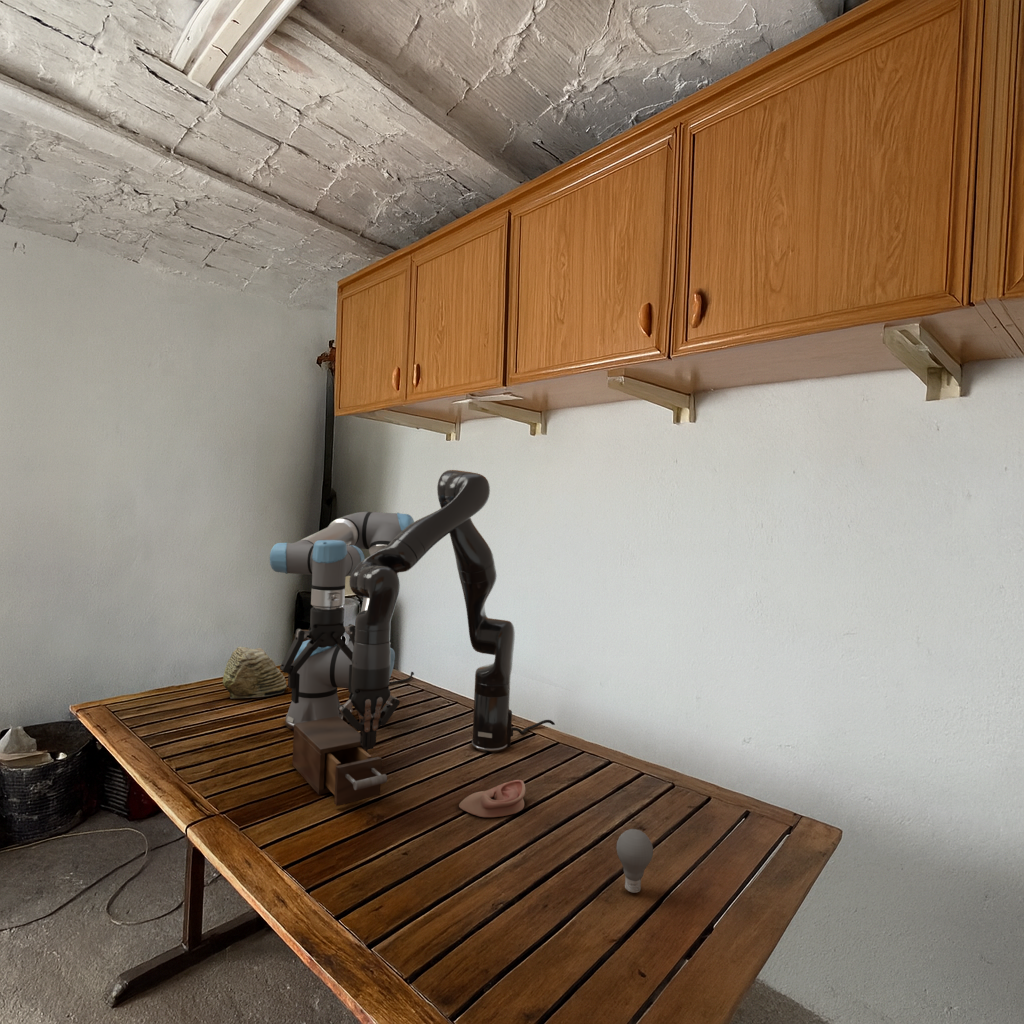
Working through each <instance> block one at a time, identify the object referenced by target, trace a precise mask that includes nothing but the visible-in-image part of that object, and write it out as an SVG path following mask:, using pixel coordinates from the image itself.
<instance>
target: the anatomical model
mask: <svg viewBox="0 0 1024 1024" xmlns="http://www.w3.org/2000/svg"><path fill="white" fill-rule="evenodd" d="M526 789H527V788H526V785H525V782H524V781H523V780H521V779H513V780H510V781H506V782H504V783H500V784H498V785H496V786H494V787H492V788H489V789H486V790H483V791H482V790H481V791H477V792H474V793H472V794H470V795H468V796H466V797H465V798H463V799H462V800H461V801H460V802H459V804H458V807H459V809H460V810H462V811H464V812H466V813H468V814H470V815H474V816H476V817H480V818H498V817H504V816H510V815H511V816H512V815H514V814H517V813H519V812H520V811H522V810H524V808H525V800H524V797H525V796H526Z"/></svg>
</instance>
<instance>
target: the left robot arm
mask: <svg viewBox="0 0 1024 1024" xmlns="http://www.w3.org/2000/svg"><path fill="white" fill-rule="evenodd" d="M413 522H415V520H414V518H413V517H412V515H410V514H409V513H400V512H376V511H360V512H359V511H358V512H354V513H349V514H346V515H343V516H341V517H338V518H336V519H334V520H333V521H331V522H330V523H329V525H328V526H327V527H325V528H323V529H321V530H319V531H317V532H315V533H312V534H309V535H308V536H306V537H304V538H302V539H300V540H298V541H295V542H277V543H275V544H274V545H273V546H272V548H271V550H270V554H269V565H270V568H271V569H272V570H273V571H274V572H276V573H282V574H286V575H288V574H292V575H294V574H296V575H311V593H310V594H311V595H310V605H311V606H312V607H311V608H310V617H309V618H310V622H309V623H310V625H309V628H308V629H301V628H297V629H296V630H295V635H294V639H293V641H292V643H291V645H290V646H289V649H288V651H287V652H286V655H285V656H284V658H283V660H282V662H281V664H280V666H279V670H280V672H282V673H285V674H287V687H288V688H289V689H291V698H290V699H291V702H290V704H289V708H288V711H287V713H286V715H285V726H286V728H287V729H289V730H291V731H294V724H296V723H301V722H307V721H313V720H318V719H324V718H330V717H336V716H339V717H340V718H341V719H342V720H344V716H343V715H342V714H341V712H340V711H339V710H338V707H339V705H344V704H345V703H342V704H341V702H340V699H339V695H338V689H348V693H349V694H350V693H351V690H352V688H351V681H352V655H353V647H354V641H355V640H354V637H355V624H352V623H349V624H348V625H345V626H344V622H345V608H344V605H345V604H346V603H345V598H346V578H347V577H350V576H351V574H352V572H353V570H354V569H355V567H356V566H357V565H358V564H359V563H360V562H362V561H363V560H364V559H366V558H365V554H364V552H363V551H362V550H368V553H369V556H371V555H372V554H374V553H375V552H377V551H379V550H380V549H382V548H384V547H386V546H387V545H388V544H389V543H390V542H391V541H392V540H393V539H394V538H395V537H396V536H397V535H398V534H399V533H400V532H402V531H403V530H404V529H405V528H406V527H407V526H409V525H410V524H412V523H413ZM399 574H400V572H399V573H397V575H398V576H399ZM368 605H369V599H368V598H363V600H362V603H361V610H360V612H362V611H365V610H367V608H368ZM345 633H346V635H348V637H349V638H348V642H347V644H346V642H345V641H344V640H343V639H342V637H343V636H344V635H345ZM308 636H309V638H310V639H307V637H308ZM306 639H307V640H306ZM391 644H392V643H391V642H390V650H391V656H390V678H391V677H392V674H393V671H394V666H395V659H396V653H395V650H394V648H392V647H391ZM414 675H415V673H414V671H410V675H409V677H406V678H404V679H399V680H393V681H389V685H394V684H399V683H404V682H408V681H410V680H411V679H412V677H413V676H414Z"/></svg>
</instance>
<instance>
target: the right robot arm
mask: <svg viewBox="0 0 1024 1024" xmlns="http://www.w3.org/2000/svg"><path fill="white" fill-rule="evenodd" d="M436 488H437V489H436V490H437V491H436V492H437V498H438V503H439V505H440V508H439V509H438V510H436V511H434V512H432V513H430V514H428V515H425V516H423V517H421V518H419V519H417V520H416V521H415V520H414V522H413V523H412V524H410V525H409V526H407V527H406V528H405V529H404V530H403V531H402V532H400V533H399V534H398V535H397V536H396V537H395V538H394V539H393V540H392V541H391V542H390V543H389V544H388V545H387V546H386V547H384V548H382V549H380V550H379V551H377V552H375V553H374V554H372V555H369V556H367V557H366V558H365V559H364V560H363V561H362V562H360V563H359V564H358V565H357V566H356V567H355V569H354V570H353V572H352V574H351V576H349V588H350V590H351V592H352V593H353V594H354V595H356V596H358V597H360V598H363V599H364V598H368V599H369V605H368V608H367V610H365V611H362V612H361V611H360V612H358V613H357V614H356V616H355V621H354V626H355V637H354V640H355V641H354V647H353V655H352V681H351V688H352V690H351V693H350V692H349V696H348V700H347V701H346V702H345V703H343V704H344V705H341V704H340V705H339V707H338V710H339V711H340V712H341V714H342V715H343V718H345V720H346V721H347V723H349V725H350V726H351V727H352V728H354V729H355V730H356V731H357V732H359V733H360V744H361V746H362V747H363V748H364V749H365V750H367V751H369V750H373V749H374V746H376V743H377V730H378V729H379V728H380V727H385V726H386V725H387V723H388V721H389V720H390V719H391V717H392V716H393V714H394V713H395V711H396V710H397V708H398V707H399V705H400V703H401V701H400V699H398V698H397V697H395V696H393V695H392V694H391V693H392V691H391V690H390V684H389V682H391V681H390V680H391V677H390V656H391V650H390V647H391V645H390V643H391V621H392V619H393V615H394V612H395V608H396V604H397V601H398V598H399V594H400V589H401V583H400V582H401V581H400V577H399V575H397V573H399V574H400V573H406V572H409V571H410V570H411V569H412V568H414V567H415V566H416V565H417V564H418V563H419V562H420V561H421V560H422V559H423V557H424V556H425V555H426V554H427V553H428V552H429V551H430V550H431V549H432V548H433V547H434V546H435V545H437V543H438V542H440V541H441V540H442V539H443V538H444V537H446V536H447V535H449V536H450V537H449V538H450V540H451V544H452V545H451V546H452V549H453V552H454V553H453V554H454V557H455V562H456V568H457V573H458V577H459V581H460V584H461V589H462V593H463V594H462V595H463V598H464V603H465V609H466V618H467V624H468V625H467V627H468V635H469V636H468V637H469V640H470V645H471V647H472V649H473V650H474V651H475V652H476V653H478V654H484V655H489V656H490V655H491V656H494V661H493V663H490V664H486V665H481V666H479V667H477V668H476V669H475V674H474V693H473V694H474V695H473V717H472V718H473V720H472V737H471V747H472V748H473V749H474V750H476V751H478V752H482V753H501V752H503V751H505V750H507V749H509V748H511V745H512V737H514V732H517V733H519V734H520V735H525V734H526V733H527V732H528V731H531V730H533V729H536V728H538V727H540V726H541V725H544V724H550V725H552V726H555V725H556V723H555V722H554V721H553V720H552V719H543V720H540V721H539V722H537V723H535V724H533V725H532V724H531V725H530V726H527V727H525V728H523V729H521V728H519V727H515V726H513V725H512V723H513V711H512V709H510V701H511V699H510V697H511V696H510V695H511V678H512V677H511V676H512V669H513V664H514V650H515V640H516V630H515V627H514V624H513V622H512V621H510V620H506V619H498V618H492V617H491V618H490V617H488V616H487V614H486V602H487V600H488V598H489V596H490V594H491V593H492V591H493V589H494V586H495V584H496V581H497V576H498V575H497V569H496V563H495V557H494V553H493V551H492V549H491V547H490V546H489V544H488V542H487V541H486V539H485V538H484V537H483V536H482V534H481V533H480V532H479V530H478V528H477V527H476V525H475V523H474V522H473V520H472V517H473V516H475V515H476V514H477V513H479V512H480V511H481V510H482V509H483V508H484V507H485V506H486V504H487V503H488V501H489V498H490V495H491V486H490V483H489V480H488V478H487V477H485V476H484V475H483V474H480V473H478V472H472V471H467V470H466V471H465V470H458V469H447V470H445V471H444V472H442V473H441V475H440V476H439V478H438V482H437V487H436ZM353 707H354V709H355V710H356V712H357V715H358V719H359V721H358V719H357V718H356V717H355V716H354V715H353V711H354V709H353Z"/></svg>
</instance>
